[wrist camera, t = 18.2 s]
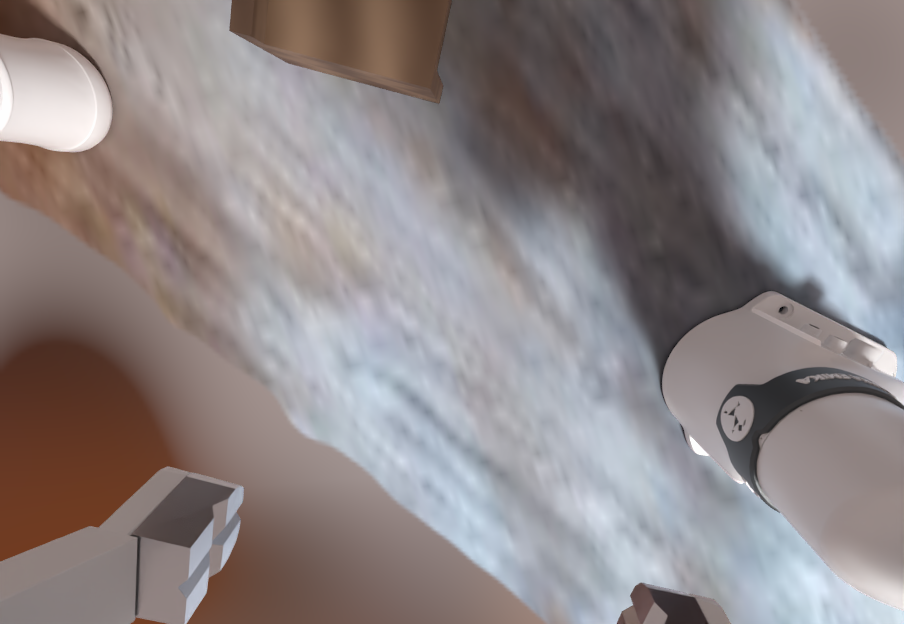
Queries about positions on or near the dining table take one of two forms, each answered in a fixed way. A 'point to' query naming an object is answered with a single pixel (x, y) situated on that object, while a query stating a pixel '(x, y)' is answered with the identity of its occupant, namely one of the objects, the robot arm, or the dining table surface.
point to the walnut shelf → (353, 39)
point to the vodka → (51, 96)
